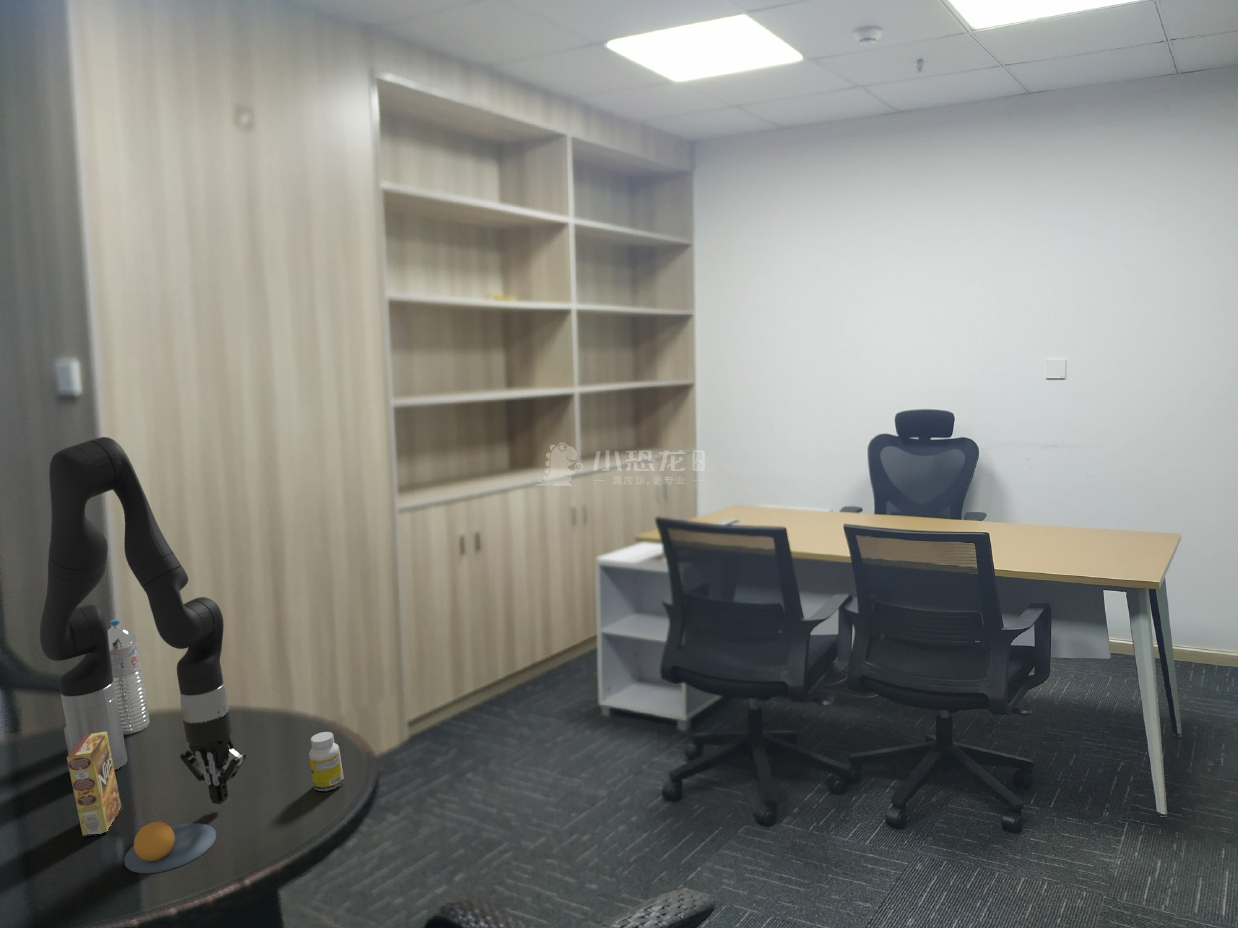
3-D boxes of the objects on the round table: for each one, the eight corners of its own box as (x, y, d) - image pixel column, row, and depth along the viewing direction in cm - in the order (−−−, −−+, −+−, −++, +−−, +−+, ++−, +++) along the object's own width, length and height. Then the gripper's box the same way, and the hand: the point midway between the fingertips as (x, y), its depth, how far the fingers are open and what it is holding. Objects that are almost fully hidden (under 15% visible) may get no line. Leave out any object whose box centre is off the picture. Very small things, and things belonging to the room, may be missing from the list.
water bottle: (136, 736, 199) (116, 625, 194) (108, 735, 200) (89, 625, 196) (157, 721, 205) (139, 614, 201) (131, 721, 207) (112, 614, 202)
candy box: (107, 834, 160) (92, 752, 157) (81, 838, 159) (65, 756, 157) (122, 808, 169) (108, 730, 166) (97, 812, 168) (82, 734, 165)
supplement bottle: (317, 779, 174) (310, 731, 172) (346, 776, 174) (340, 728, 172) (310, 794, 168) (303, 744, 167) (340, 791, 169) (334, 741, 167)
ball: (118, 848, 149) (141, 812, 152) (143, 861, 153) (164, 826, 156) (143, 856, 146) (165, 820, 149) (167, 870, 150) (189, 833, 154)
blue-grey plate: (104, 867, 150) (104, 866, 150) (169, 820, 163) (169, 819, 163) (173, 877, 146) (173, 876, 146) (234, 828, 159) (234, 827, 159)
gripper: (159, 718, 161) (174, 809, 164) (221, 723, 157) (236, 816, 160) (190, 699, 168) (205, 787, 171) (251, 704, 164) (264, 794, 167)
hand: (220, 801), depth 165 cm, fingers closed
